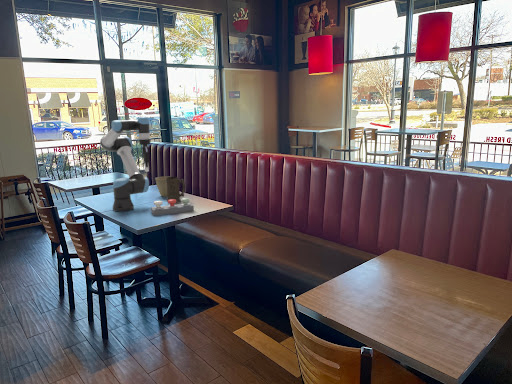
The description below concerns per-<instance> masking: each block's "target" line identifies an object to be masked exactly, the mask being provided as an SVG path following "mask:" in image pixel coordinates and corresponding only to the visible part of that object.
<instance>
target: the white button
mask: <svg viewBox="0 0 512 384" xmlns="http://www.w3.org/2000/svg"><path fill="white" fill-rule="evenodd" d="M153 206H155V207H157V208H159V207H161V206H163V201H162V200H155V201H153Z"/></svg>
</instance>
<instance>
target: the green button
mask: <svg viewBox="0 0 512 384" xmlns="http://www.w3.org/2000/svg"><path fill="white" fill-rule="evenodd" d="M190 200H191V199H190V197H182V198H180V202H181V203H182V204H188V203H190Z"/></svg>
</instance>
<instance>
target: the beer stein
mask: <svg viewBox="0 0 512 384" xmlns="http://www.w3.org/2000/svg"><path fill="white" fill-rule="evenodd" d="M166 177H167V178H166V181H167V196H166V202H168V200H170V199H175V200H176V203H177V202H181V197H182V198H185V194H184V193H185V190H186V184H185V179H184V178H182V179H179V177H178V176H166ZM180 183H181V184H182V189H181V193H180V185H179V184H180Z"/></svg>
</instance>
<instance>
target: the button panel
mask: <svg viewBox="0 0 512 384" xmlns="http://www.w3.org/2000/svg"><path fill="white" fill-rule="evenodd" d="M194 207H195V206H194V204H192V203H191V202H188V204H183V203H178V204H177V203H175V204H174V206H170V204H169V205H161V207H159V208H157V207H156V206H151V207H150V211H151V212H150V213H151V214H152V215H153V216H154V217H155V216H156V215H157V216H163V215H164V214H165V215H172V214H173V215H174V214H180V213H188V212H194V211H195V210H194V209H195V208H194Z"/></svg>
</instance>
